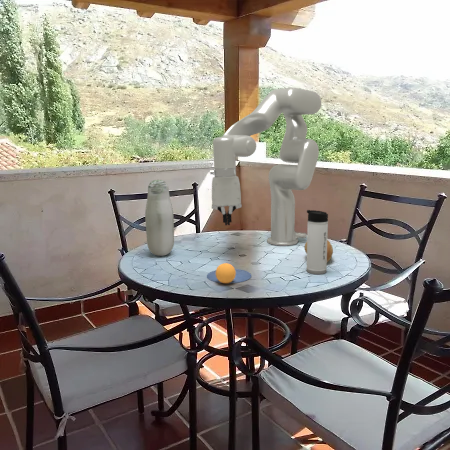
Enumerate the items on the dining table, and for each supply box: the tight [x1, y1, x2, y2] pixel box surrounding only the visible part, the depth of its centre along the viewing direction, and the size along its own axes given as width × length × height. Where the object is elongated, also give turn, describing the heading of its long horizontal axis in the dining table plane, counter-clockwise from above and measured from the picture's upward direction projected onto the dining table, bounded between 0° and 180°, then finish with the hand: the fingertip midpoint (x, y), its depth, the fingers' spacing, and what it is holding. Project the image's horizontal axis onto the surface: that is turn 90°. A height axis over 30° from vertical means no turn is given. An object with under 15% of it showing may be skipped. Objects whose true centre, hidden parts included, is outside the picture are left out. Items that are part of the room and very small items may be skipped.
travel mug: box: [306, 209, 329, 275], centre depth 139 cm, size 6×7×20 cm
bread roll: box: [304, 239, 334, 263], centre depth 154 cm, size 10×15×8 cm, turn 177°
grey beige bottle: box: [144, 179, 175, 257], centre depth 161 cm, size 10×10×28 cm
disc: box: [206, 268, 252, 284], centre depth 138 cm, size 14×14×1 cm
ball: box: [215, 262, 236, 284], centre depth 131 cm, size 6×6×6 cm
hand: (227, 224), depth 157 cm, fingers closed
